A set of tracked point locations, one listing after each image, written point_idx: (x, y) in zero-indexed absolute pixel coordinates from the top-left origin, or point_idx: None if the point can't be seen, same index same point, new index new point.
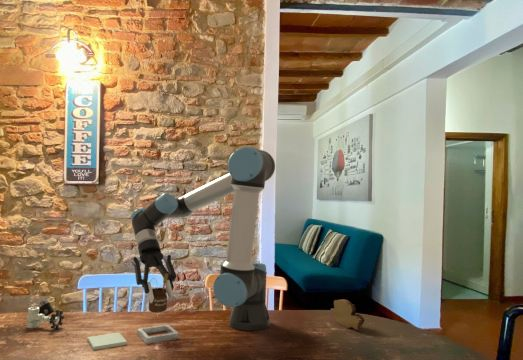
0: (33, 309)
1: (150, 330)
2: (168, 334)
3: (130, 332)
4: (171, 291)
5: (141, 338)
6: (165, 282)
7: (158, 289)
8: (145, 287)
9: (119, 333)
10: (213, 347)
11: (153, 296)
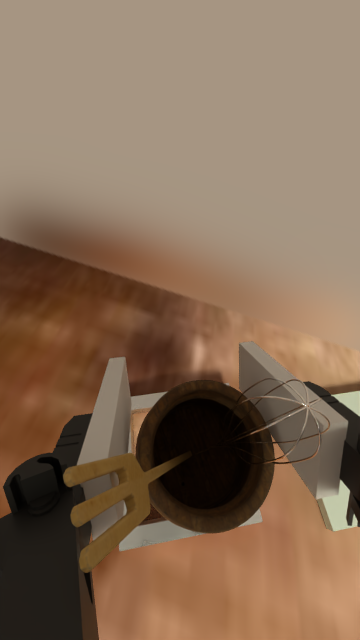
0: None
1: None
2: (153, 397)
3: (284, 560)
4: (112, 374)
5: None
6: (134, 457)
7: (196, 519)
8: (335, 400)
9: (329, 511)
10: (59, 304)
11: (245, 348)
